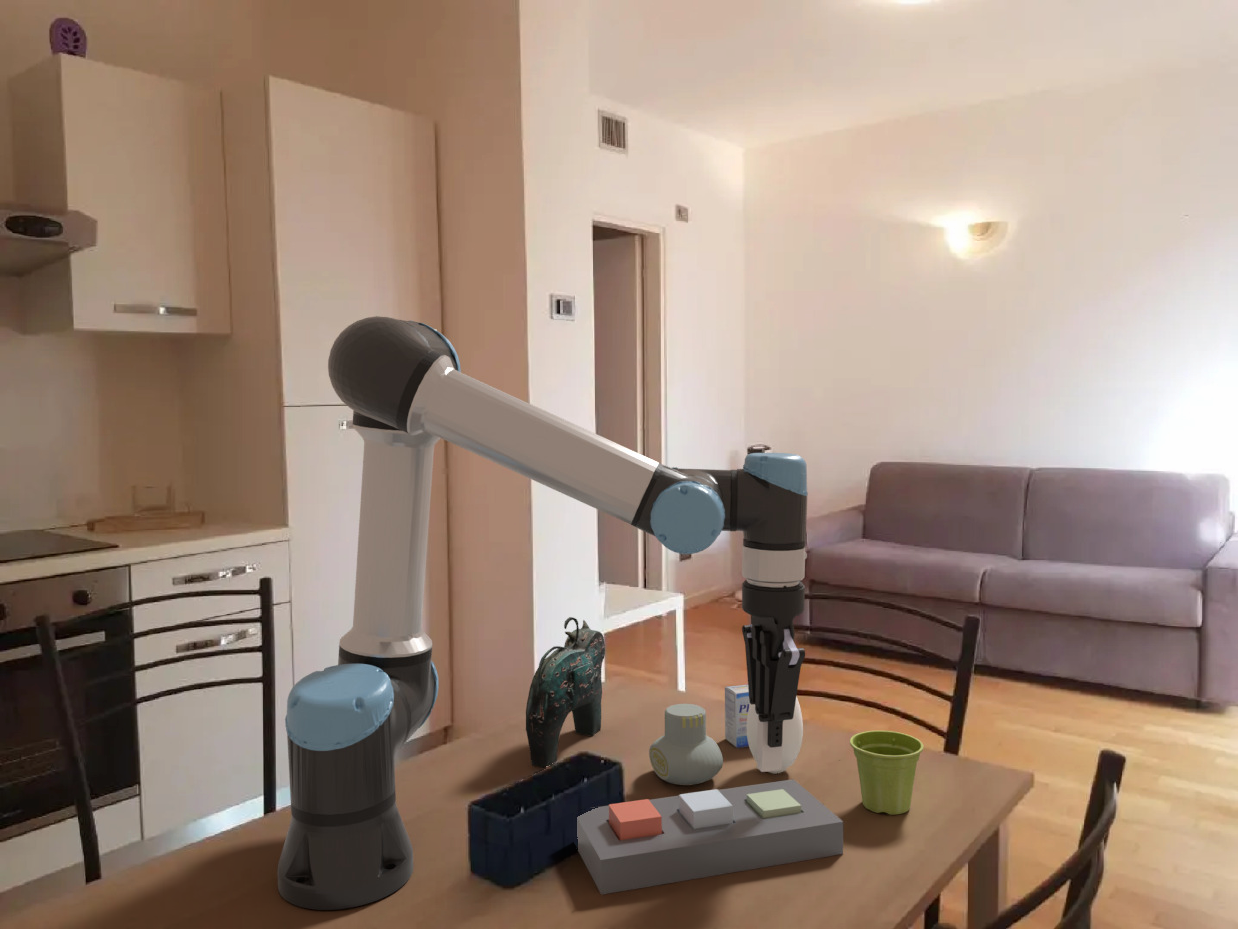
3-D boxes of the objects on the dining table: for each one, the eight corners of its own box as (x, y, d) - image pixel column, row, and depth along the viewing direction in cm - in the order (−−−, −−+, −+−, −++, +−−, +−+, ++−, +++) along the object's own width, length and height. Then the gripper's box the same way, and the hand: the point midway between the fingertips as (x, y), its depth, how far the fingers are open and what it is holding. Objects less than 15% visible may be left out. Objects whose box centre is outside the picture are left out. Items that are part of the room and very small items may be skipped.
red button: (620, 847, 112) (620, 822, 112) (609, 828, 117) (608, 804, 117) (661, 841, 114) (661, 816, 113) (648, 822, 118) (648, 799, 118)
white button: (693, 836, 115) (693, 811, 115) (679, 818, 120) (679, 794, 119) (733, 830, 116) (732, 806, 116) (717, 812, 121) (717, 789, 121)
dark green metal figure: (581, 723, 162) (579, 605, 160) (616, 728, 159) (614, 608, 158) (518, 766, 144) (515, 634, 143) (556, 773, 141) (553, 638, 140)
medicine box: (735, 749, 150) (735, 694, 149) (724, 739, 154) (724, 685, 153) (782, 743, 152) (782, 689, 151) (769, 733, 156) (769, 680, 155)
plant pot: (834, 800, 131) (835, 737, 130) (887, 785, 135) (888, 725, 135) (883, 827, 123) (883, 761, 122) (938, 811, 127) (939, 747, 126)
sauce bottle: (736, 770, 141) (735, 649, 140) (772, 756, 146) (772, 639, 145) (777, 787, 135) (777, 661, 134) (813, 772, 140) (813, 650, 139)
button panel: (601, 894, 108) (600, 860, 107) (573, 842, 120) (572, 810, 120) (843, 854, 116) (843, 821, 116) (793, 808, 129) (793, 779, 128)
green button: (763, 835, 117) (763, 811, 117) (746, 817, 122) (746, 794, 122) (801, 829, 119) (801, 805, 119) (782, 812, 124) (782, 789, 123)
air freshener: (729, 787, 136) (729, 717, 135) (675, 797, 133) (674, 726, 132) (694, 759, 146) (694, 694, 145) (644, 768, 143) (643, 702, 142)
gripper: (827, 590, 113) (822, 786, 115) (778, 568, 125) (774, 746, 127) (768, 593, 111) (763, 793, 113) (723, 571, 123) (720, 752, 125)
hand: (769, 768), depth 120 cm, fingers closed
